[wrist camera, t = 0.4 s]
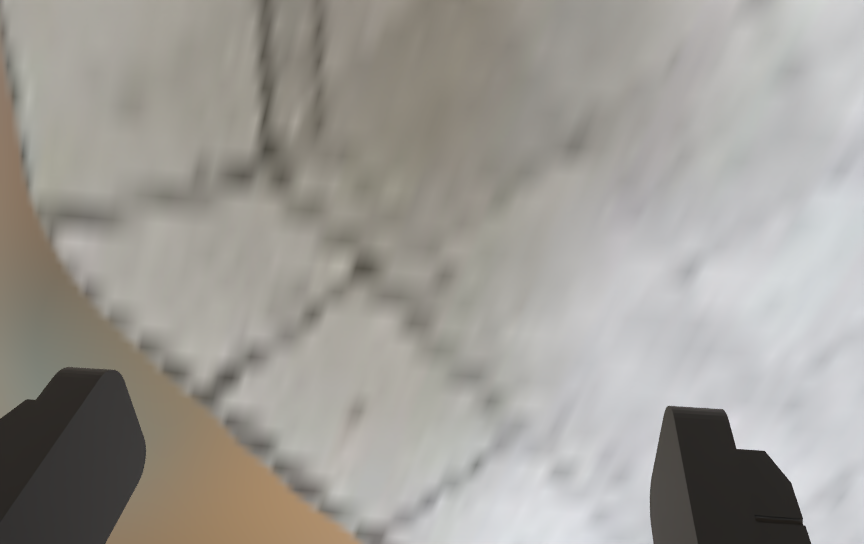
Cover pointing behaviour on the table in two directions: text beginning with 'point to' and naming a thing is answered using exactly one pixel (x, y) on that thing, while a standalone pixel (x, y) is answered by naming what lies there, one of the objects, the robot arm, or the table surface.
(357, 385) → the table surface
